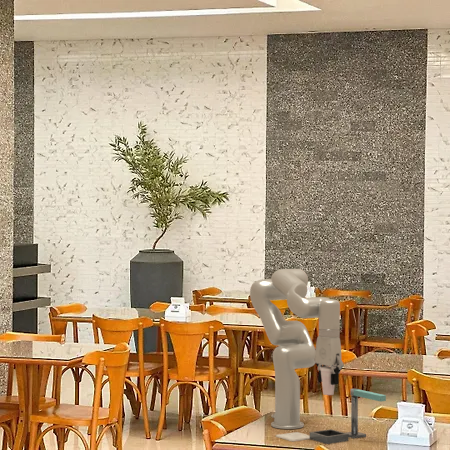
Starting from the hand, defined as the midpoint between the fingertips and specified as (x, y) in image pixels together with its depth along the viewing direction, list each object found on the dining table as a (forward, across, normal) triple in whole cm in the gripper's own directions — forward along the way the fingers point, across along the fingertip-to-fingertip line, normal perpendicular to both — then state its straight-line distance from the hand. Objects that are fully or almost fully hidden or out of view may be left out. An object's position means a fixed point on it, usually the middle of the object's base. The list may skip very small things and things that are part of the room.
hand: (328, 382), depth 364 cm
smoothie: (+4, 0, 0) cm, 4 cm away
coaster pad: (+21, -9, -8) cm, 24 cm away
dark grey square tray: (+21, +1, 0) cm, 21 cm away
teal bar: (+5, +8, +12) cm, 15 cm away
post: (+21, +1, +12) cm, 24 cm away
